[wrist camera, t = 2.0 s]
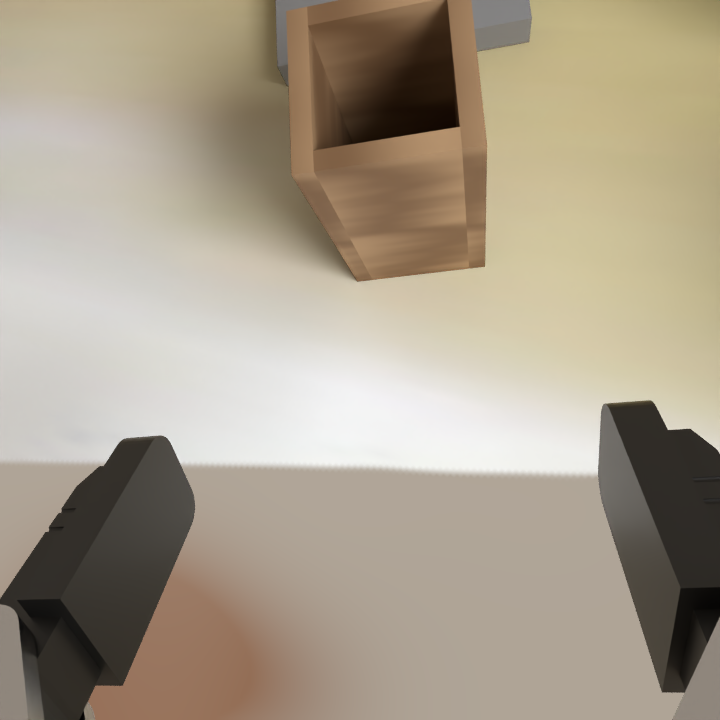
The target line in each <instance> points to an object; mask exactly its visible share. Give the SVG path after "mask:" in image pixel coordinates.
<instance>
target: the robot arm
mask: <svg viewBox="0 0 720 720" xmlns="http://www.w3.org/2000/svg"><path fill="white" fill-rule="evenodd" d="M598 477H599V487H600V494H601V499H602V503H603V507H604V510H605V513H606V517H607V520H608V523H609V526H610V529H611V532H612V536H613V539H614V542H615V545H616V548H617V551H618V555H619V558H620V561H621V564H622V567H623V570H624V573H625V577H626V580H627V583H628V586H629V589H630V593H631V596H632V599H633V602H634V605H635V608H636V612H637V615H638V618H639V621H640V624H641V627H642V630H643V634H644V637H645V640H646V643H647V646H648V649H649V653H650V656H651V659H652V662H653V665H654V669H655V672H656V675H657V678H658V681H659V684H660V687H661V690H662V692H684V695H683V698H682V700H681V702H680V704H679V706H678V708H677V711H676V713H675V715H674V717H673V719H672V720H720V454H719V452H718V450H717V449H716V448H714V447H713V446H712V445H710V444H709V443H708V442H707V441H705V440H704V439H703V438H701V437H700V436H699V435H698V434H696V433H695V432H694V431H693V430H691V429H680V430H668V429H667V427H666V425H665V423H664V421H663V419H662V417H661V415H660V414H659V412H658V410H657V408H656V406H655V404H654V403H653V402H652V401H650V400H649V401H635V402H622V403H608V404H604V405H603V406H602V411H601V426H600V446H599V465H598ZM194 512H195V501H194V495H193V492H192V489H191V487H190V485H189V483H188V480H187V478H186V476H185V474H184V472H183V469H182V467H181V465H180V463H179V461H178V458H177V456H176V454H175V452H174V450H173V447H172V445H171V443H170V442H169V440H168V439H167V438H166V437H164V436H150V437H136V438H126V439H123V440H122V441H121V442H120V443H119V444H118V445H117V447H116V448H115V450H114V451H113V453H112V454H111V456H110V457H109V459H108V460H107V462H106V464H105V465H104V466H100V467H98V468H97V469H96V470H95V471H94V472H93V473H92V474H90V475H89V476H88V477H87V478H86V479H85V480H84V481H82V482H81V483H80V484H79V485H78V486H77V487H76V488H75V490H74V491H73V493H72V494H71V495H70V497H69V499H68V500H67V502H66V503H65V504H64V506H63V507H62V512H61V513H59V514H58V515H57V516H56V518H55V519H54V520H53V522H52V523H51V525H50V526H49V532H45V534H44V535H43V537H42V538H41V540H40V541H39V543H38V544H37V545H36V547H35V548H34V550H33V551H32V553H31V554H30V556H29V557H28V559H27V560H26V562H25V563H24V565H23V566H22V568H21V569H20V570H19V572H18V573H17V575H16V576H15V578H14V579H13V581H12V582H11V584H10V585H9V587H8V588H7V590H6V591H5V593H4V594H3V595H2V597H1V599H0V720H95V717H94V713H93V709H92V707H91V706H90V704H89V703H88V700H89V698H90V696H91V693H92V691H93V689H94V687H95V685H103V686H104V685H110V686H112V685H113V686H122V685H123V683H124V681H125V679H126V677H127V674H128V672H129V670H130V667H131V665H132V663H133V660H134V658H135V656H136V653H137V651H138V649H139V646H140V644H141V642H142V639H143V637H144V635H145V632H146V630H147V628H148V625H149V623H150V621H151V618H152V616H153V613H154V611H155V609H156V607H157V604H158V602H159V600H160V597H161V595H162V593H163V590H164V588H165V586H166V583H167V581H168V578H169V576H170V574H171V571H172V569H173V567H174V564H175V562H176V560H177V557H178V555H179V553H180V550H181V548H182V546H183V544H184V541H185V539H186V537H187V534H188V532H189V529H190V527H191V525H192V522H193V518H194Z"/></svg>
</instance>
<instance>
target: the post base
mask: <svg viewBox="0 0 720 720" xmlns="http://www.w3.org/2000/svg"><path fill="white" fill-rule="evenodd" d="M332 1H337V0H276V32H277V67H278V69H279V71H280V73H281V75H282V77H283V79H284V81H285V83H286V85H287V86H289V82H288V51H287V20H286V11H289V10H294V9H298V8H303V7H308V6H313V5H318V4H322V3H327V2H332ZM471 2H472V11H473V20H474V30H475V39H476V48H477V51H482V50H487V49H493V48H498V47H503V46H509V45H514V44H520V43H525V42H529V38H530V29H531V20H532V17H531V9H530V2H529V0H471Z"/></svg>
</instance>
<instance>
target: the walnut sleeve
mask: <svg viewBox="0 0 720 720" xmlns="http://www.w3.org/2000/svg"><path fill="white" fill-rule="evenodd" d="M286 20H287V51H288V82H289V114H290V145H291V175H292V177H293V178H294V180H295V182H296V183H297V185H298V186H299V188H300V190H301V191H302V193H303V194H304V196H305V198H306V199H307V201H308V202H309V204H310V206H311V207H312V209H313V211H314V212H315V214H316V215H317V217H318V219H319V220H320V222H321V223H322V225H323V227H324V228H325V230H326V231H327V233H328V235H329V236H330V238H331V239H332V241H333V243H334V244H335V246H336V248H337V249H338V251H339V252H340V254H341V256H342V257H343V259H344V260H345V262H346V264H347V265H348V267H349V268H350V270H351V272H352V273H353V275H354V276H355V278H356V280H357V281H366V280H375V279H383V278H392V277H400V276H409V275H417V274H426V273H434V272H442V271H451V270H459V269H468V268H476V267H485V233H486V174H487V140H486V131H485V122H484V113H483V103H482V94H481V85H480V76H479V67H478V57H477V48H476V39H475V30H474V20H473V11H472V2H471V0H337V1H332V2H327V3H322V4H318V5H313V6H308V7H303V8H298V9H294V10H289V11H286Z"/></svg>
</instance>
